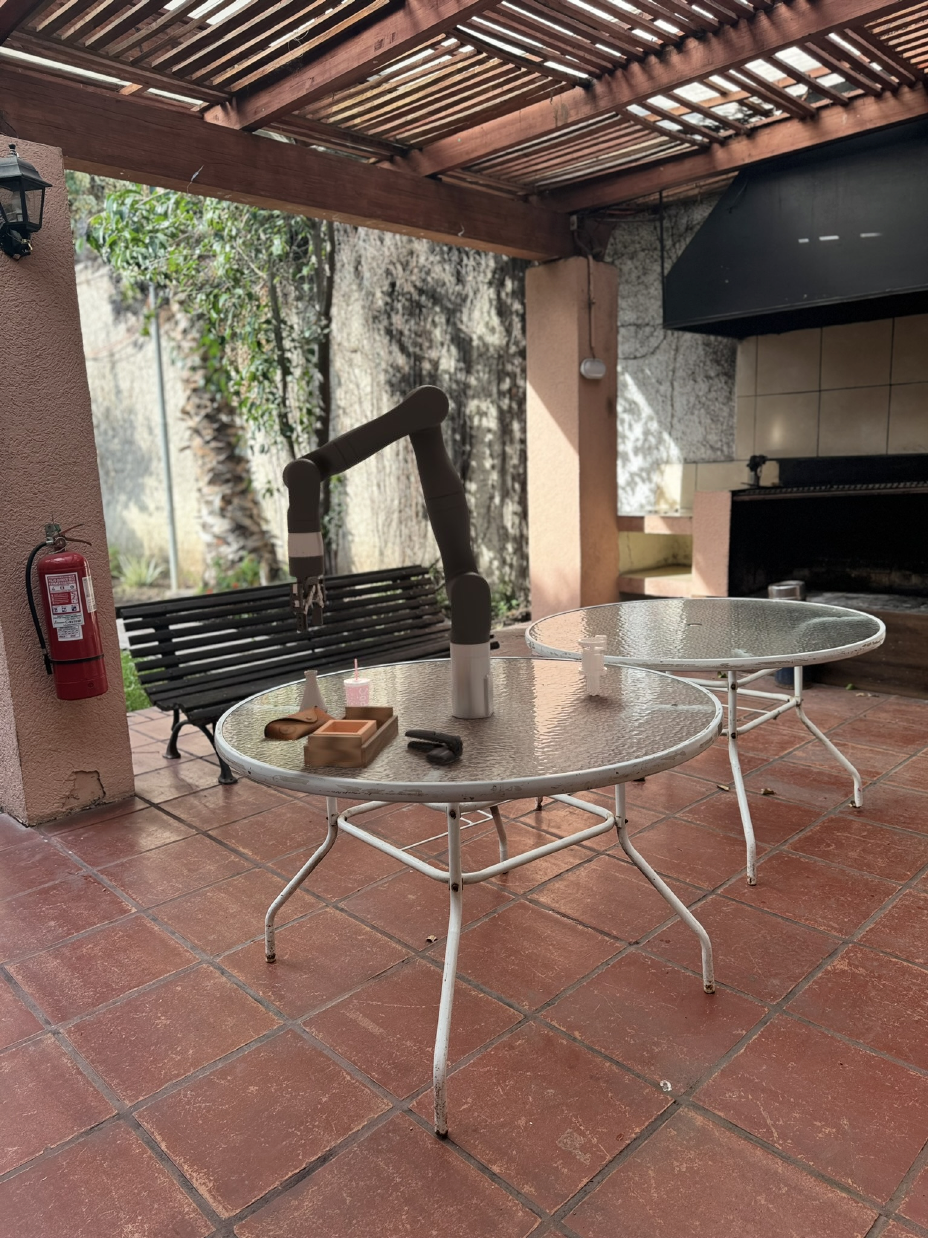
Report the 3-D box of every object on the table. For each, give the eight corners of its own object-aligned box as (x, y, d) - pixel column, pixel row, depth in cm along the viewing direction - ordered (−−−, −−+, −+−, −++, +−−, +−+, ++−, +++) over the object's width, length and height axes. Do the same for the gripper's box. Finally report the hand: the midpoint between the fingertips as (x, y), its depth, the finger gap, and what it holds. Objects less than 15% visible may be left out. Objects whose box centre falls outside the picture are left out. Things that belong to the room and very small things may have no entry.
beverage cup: (349, 723, 204) (346, 662, 202) (342, 717, 210) (339, 658, 208) (375, 719, 206) (372, 660, 204) (367, 713, 212) (364, 655, 210)
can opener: (472, 762, 172) (471, 734, 172) (443, 770, 168) (441, 741, 168) (423, 743, 187) (422, 717, 186) (394, 749, 183) (393, 723, 182)
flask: (322, 716, 211) (319, 674, 210) (293, 715, 213) (290, 674, 211) (332, 708, 218) (330, 668, 217) (304, 708, 220) (302, 668, 218)
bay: (398, 733, 194) (397, 706, 193) (366, 767, 171) (365, 737, 170) (343, 732, 196) (342, 705, 195) (304, 766, 173) (302, 736, 172)
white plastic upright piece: (607, 698, 219) (606, 637, 217) (578, 697, 221) (577, 638, 218) (607, 691, 226) (607, 633, 224) (579, 691, 227) (578, 633, 225)
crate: (377, 743, 183) (376, 720, 182) (362, 758, 173) (361, 734, 172) (331, 742, 184) (330, 719, 184) (314, 757, 174) (312, 733, 174)
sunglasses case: (294, 741, 190) (279, 714, 191) (273, 755, 193) (259, 727, 194) (344, 721, 206) (331, 695, 206) (324, 733, 209) (311, 708, 210)
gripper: (309, 556, 184) (314, 633, 186) (334, 550, 198) (338, 623, 200) (275, 556, 185) (280, 633, 188) (302, 551, 199) (307, 623, 202)
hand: (310, 628), depth 194 cm, fingers open, 8 cm apart
